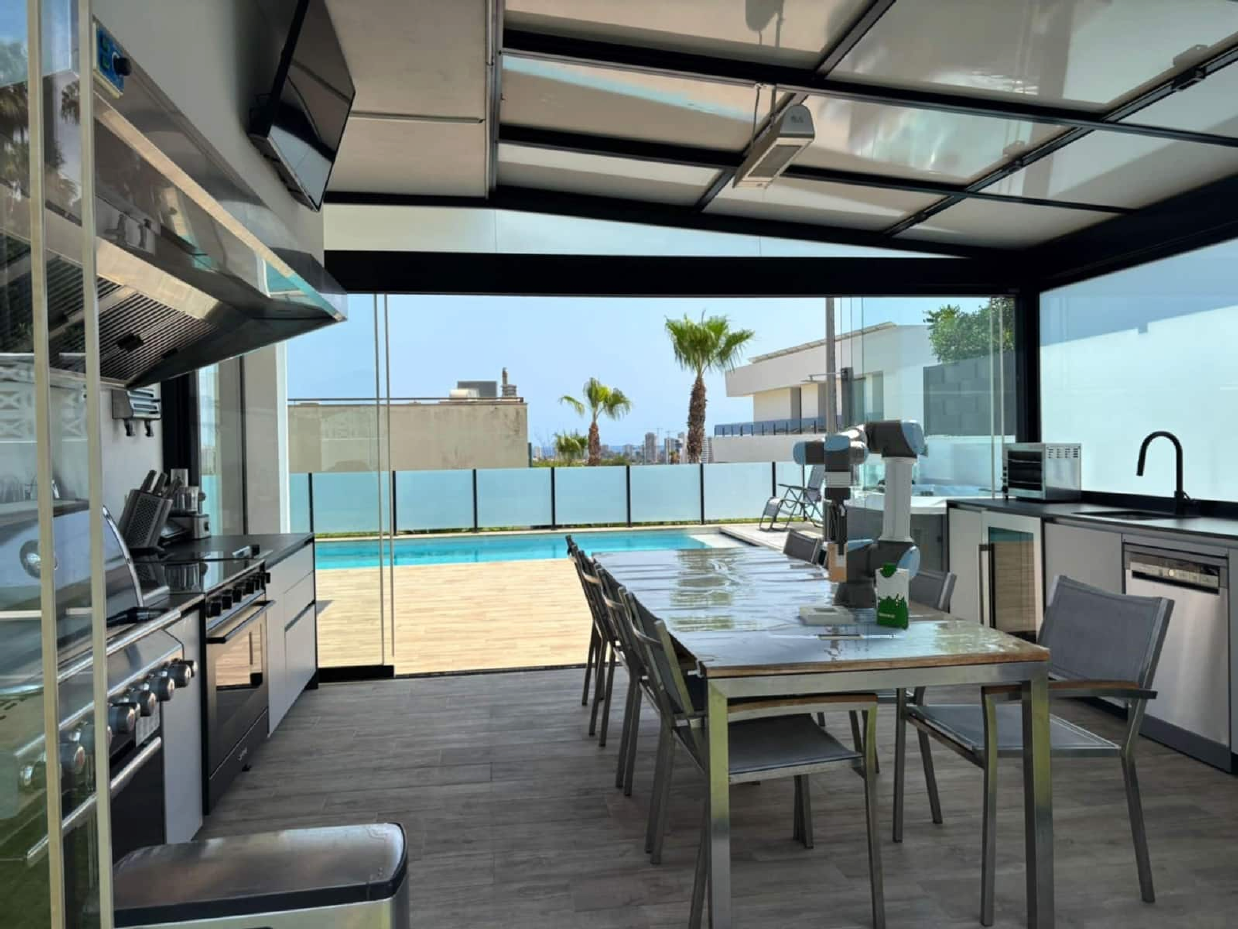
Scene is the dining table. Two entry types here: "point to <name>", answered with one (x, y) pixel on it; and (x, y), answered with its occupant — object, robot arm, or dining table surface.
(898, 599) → the milk carton
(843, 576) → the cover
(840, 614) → the housing
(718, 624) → the dining table surface
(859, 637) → the mat
